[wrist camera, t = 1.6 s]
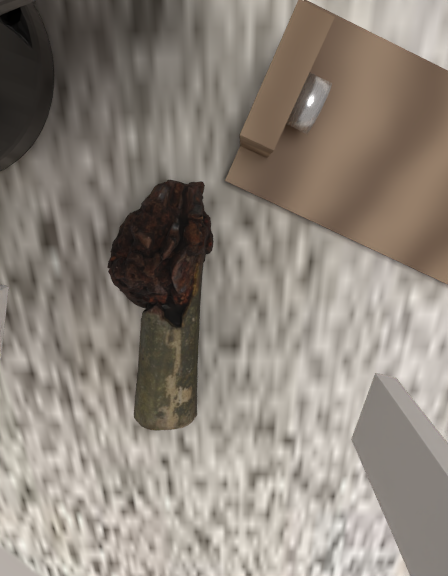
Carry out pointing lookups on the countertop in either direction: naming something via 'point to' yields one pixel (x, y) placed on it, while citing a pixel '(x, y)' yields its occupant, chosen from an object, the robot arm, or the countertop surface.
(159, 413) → the lumpy brown club
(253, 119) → the shaft stand
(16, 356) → the countertop surface
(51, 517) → the countertop surface
